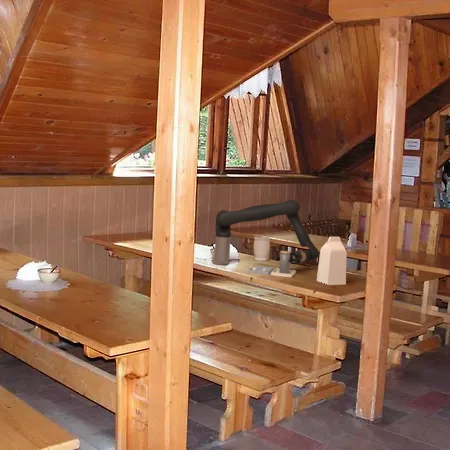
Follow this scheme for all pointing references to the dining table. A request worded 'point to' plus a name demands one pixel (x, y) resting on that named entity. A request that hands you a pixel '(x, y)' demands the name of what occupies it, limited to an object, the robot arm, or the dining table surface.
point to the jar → (261, 248)
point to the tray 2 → (276, 273)
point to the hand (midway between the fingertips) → (283, 259)
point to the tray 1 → (259, 270)
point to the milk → (332, 263)
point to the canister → (284, 262)
